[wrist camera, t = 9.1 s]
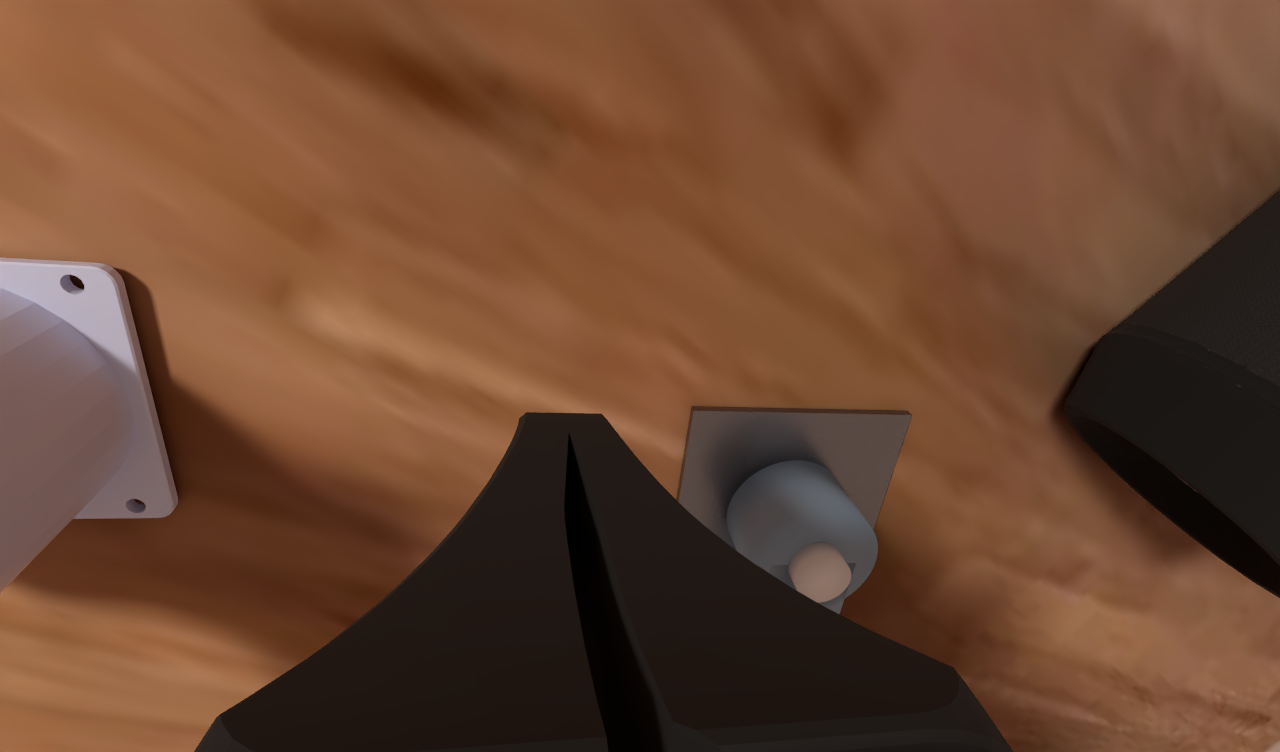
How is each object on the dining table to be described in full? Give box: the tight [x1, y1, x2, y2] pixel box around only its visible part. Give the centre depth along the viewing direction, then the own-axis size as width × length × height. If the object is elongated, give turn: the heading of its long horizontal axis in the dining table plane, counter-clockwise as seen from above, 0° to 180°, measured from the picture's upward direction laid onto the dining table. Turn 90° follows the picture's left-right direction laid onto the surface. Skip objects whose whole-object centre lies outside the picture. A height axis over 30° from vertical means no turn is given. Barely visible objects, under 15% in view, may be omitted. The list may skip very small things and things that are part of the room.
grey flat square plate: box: [677, 406, 912, 550], centre depth 24 cm, size 8×8×1 cm
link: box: [726, 460, 878, 614], centre depth 25 cm, size 16×4×4 cm, turn 174°
